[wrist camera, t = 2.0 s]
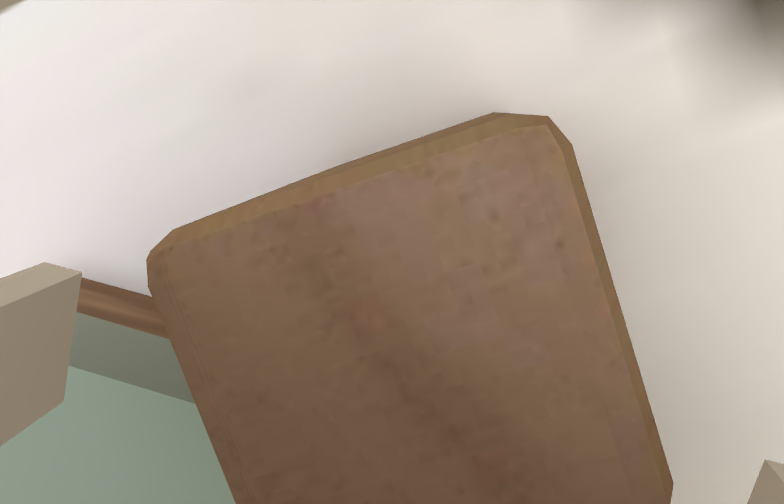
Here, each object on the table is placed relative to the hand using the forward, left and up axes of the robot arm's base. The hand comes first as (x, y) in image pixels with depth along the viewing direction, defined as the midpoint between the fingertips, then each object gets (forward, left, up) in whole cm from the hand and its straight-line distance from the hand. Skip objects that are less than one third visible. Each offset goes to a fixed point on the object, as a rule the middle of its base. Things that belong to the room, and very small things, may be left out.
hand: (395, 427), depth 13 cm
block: (0, 0, -22) cm, 22 cm away
